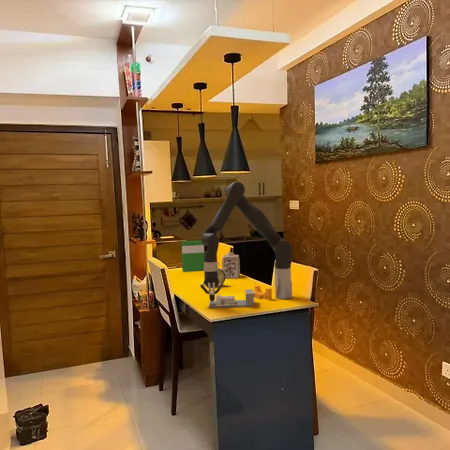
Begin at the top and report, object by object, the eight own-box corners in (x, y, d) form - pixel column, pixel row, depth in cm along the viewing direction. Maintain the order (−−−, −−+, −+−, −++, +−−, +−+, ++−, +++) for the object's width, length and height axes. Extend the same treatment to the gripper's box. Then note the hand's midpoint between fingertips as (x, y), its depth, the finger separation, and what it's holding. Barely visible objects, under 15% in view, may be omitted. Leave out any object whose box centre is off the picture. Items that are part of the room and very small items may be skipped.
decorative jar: (222, 278, 302) (221, 253, 301) (224, 275, 314) (223, 251, 313) (238, 278, 301) (237, 253, 299) (240, 275, 312) (239, 251, 311)
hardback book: (183, 272, 335) (181, 242, 333) (182, 270, 342) (181, 241, 340) (204, 270, 338) (203, 241, 336) (203, 269, 345) (202, 240, 343)
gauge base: (252, 301, 233) (252, 289, 232) (253, 306, 222) (253, 293, 221) (209, 302, 233) (209, 290, 233) (208, 308, 222) (208, 295, 222)
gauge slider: (234, 301, 230) (234, 294, 230) (234, 304, 222) (234, 297, 222) (216, 301, 230) (216, 294, 230) (216, 305, 222) (215, 298, 222)
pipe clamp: (252, 297, 244) (252, 286, 243) (258, 296, 246) (257, 285, 246) (266, 300, 234) (265, 289, 234) (271, 299, 237) (271, 288, 236)
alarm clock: (209, 287, 274) (208, 262, 273) (209, 285, 279) (209, 261, 278) (226, 286, 274) (225, 262, 273) (226, 285, 279) (225, 261, 278)
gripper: (223, 268, 230) (224, 299, 231) (199, 269, 230) (200, 299, 231) (223, 270, 223) (224, 302, 224) (198, 271, 223) (199, 303, 224)
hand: (212, 301), depth 228 cm, fingers closed
